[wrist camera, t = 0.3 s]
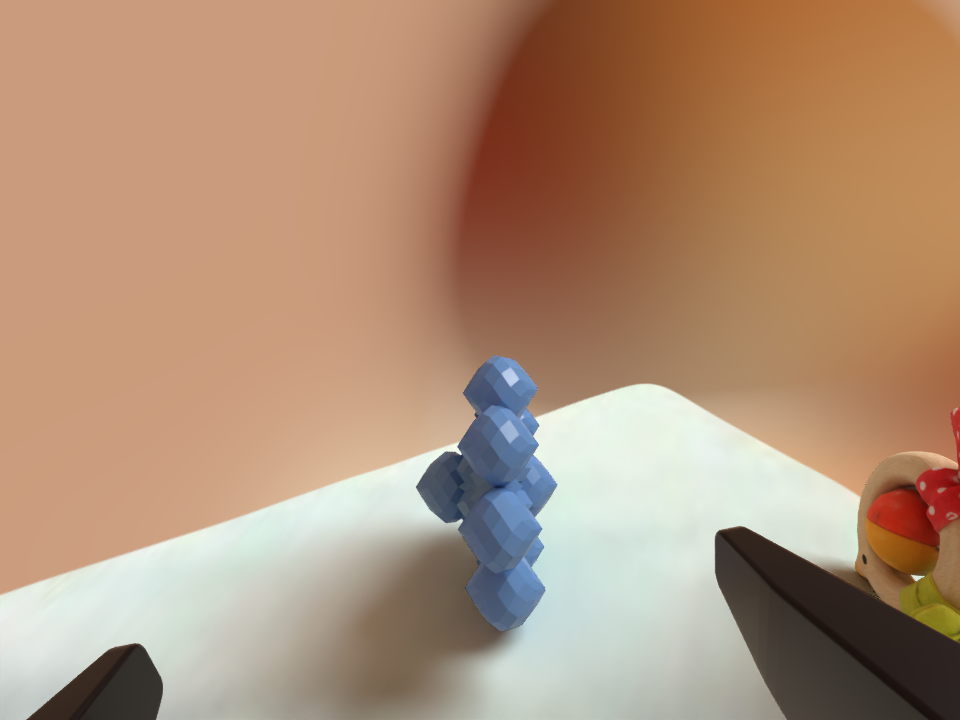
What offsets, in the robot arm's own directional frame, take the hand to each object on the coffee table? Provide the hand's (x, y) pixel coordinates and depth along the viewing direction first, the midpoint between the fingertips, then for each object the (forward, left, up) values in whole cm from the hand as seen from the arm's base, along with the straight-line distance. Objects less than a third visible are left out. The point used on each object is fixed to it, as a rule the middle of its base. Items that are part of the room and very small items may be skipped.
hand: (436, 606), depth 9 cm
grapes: (+15, -1, -16) cm, 22 cm away
